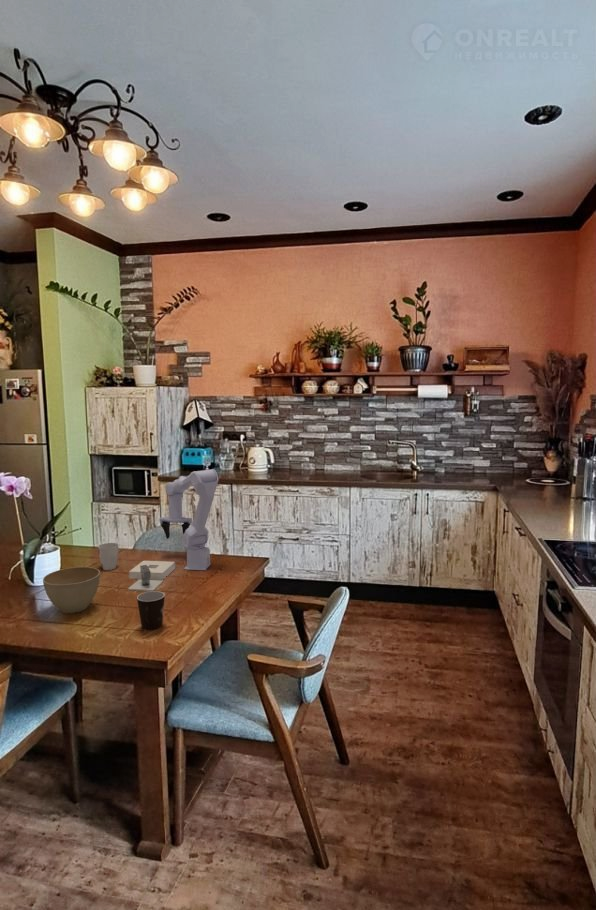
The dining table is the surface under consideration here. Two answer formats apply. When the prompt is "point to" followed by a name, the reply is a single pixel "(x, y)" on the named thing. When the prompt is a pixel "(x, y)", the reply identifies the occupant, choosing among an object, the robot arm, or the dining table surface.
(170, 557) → the dining table surface
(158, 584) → the grey mat
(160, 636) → the dining table surface
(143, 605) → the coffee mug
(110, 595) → the dining table surface
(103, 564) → the cup
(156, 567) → the key housing
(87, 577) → the brown bowl
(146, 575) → the t key
